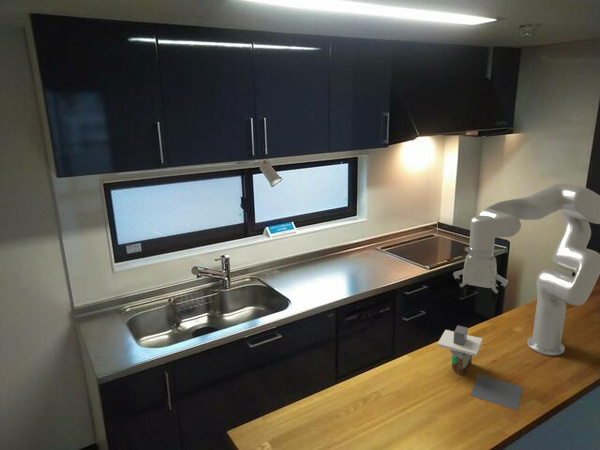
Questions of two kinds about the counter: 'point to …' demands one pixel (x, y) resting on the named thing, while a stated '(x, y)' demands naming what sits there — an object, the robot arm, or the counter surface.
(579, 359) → the counter surface
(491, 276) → the robot arm
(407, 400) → the counter surface
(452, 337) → the lid
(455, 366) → the food container
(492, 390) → the mat
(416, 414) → the counter surface
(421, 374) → the counter surface
